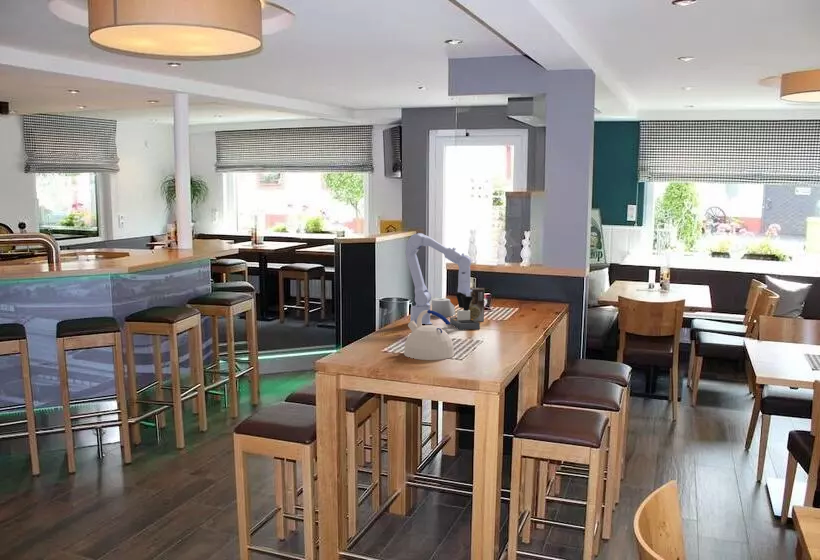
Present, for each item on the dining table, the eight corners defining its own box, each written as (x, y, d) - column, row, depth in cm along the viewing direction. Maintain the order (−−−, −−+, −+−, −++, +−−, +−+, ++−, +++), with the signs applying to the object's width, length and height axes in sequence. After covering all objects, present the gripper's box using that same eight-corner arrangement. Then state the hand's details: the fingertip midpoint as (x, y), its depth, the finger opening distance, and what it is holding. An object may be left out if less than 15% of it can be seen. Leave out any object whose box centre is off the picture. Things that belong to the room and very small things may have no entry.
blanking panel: (458, 325, 344) (458, 310, 343) (457, 324, 346) (457, 310, 345) (470, 324, 345) (470, 310, 344) (468, 324, 347) (469, 309, 346)
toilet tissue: (459, 315, 373) (459, 299, 372) (439, 318, 365) (439, 301, 364) (448, 313, 380) (448, 297, 379) (428, 315, 373) (428, 299, 372)
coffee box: (483, 319, 363) (484, 287, 361) (484, 321, 357) (484, 289, 355) (465, 318, 364) (466, 287, 362) (465, 321, 358) (466, 289, 356)
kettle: (424, 346, 300) (424, 304, 298) (464, 354, 287) (465, 309, 285) (392, 355, 284) (392, 310, 282) (433, 363, 271) (434, 316, 269)
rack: (459, 330, 335) (459, 323, 334) (449, 323, 350) (450, 317, 350) (479, 329, 337) (479, 322, 337) (469, 323, 353) (469, 316, 352)
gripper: (476, 283, 336) (476, 311, 338) (467, 279, 351) (467, 306, 352) (462, 283, 335) (461, 311, 337) (453, 279, 349) (453, 306, 351)
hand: (463, 309), depth 344 cm, fingers open, 7 cm apart
